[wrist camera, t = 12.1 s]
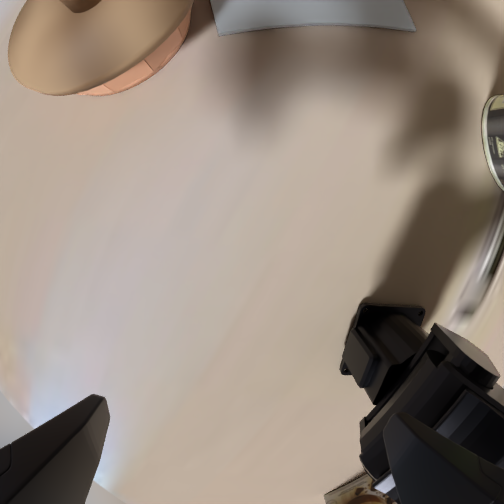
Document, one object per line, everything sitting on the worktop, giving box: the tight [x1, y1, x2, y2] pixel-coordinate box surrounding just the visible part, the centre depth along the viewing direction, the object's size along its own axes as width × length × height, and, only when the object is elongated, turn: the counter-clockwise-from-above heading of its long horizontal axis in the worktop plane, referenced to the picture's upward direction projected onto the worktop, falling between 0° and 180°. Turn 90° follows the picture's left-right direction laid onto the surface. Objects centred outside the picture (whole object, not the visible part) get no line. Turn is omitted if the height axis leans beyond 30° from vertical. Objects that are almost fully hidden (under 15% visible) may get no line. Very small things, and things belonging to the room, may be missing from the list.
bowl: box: [77, 6, 192, 96], centre depth 13 cm, size 11×11×4 cm
